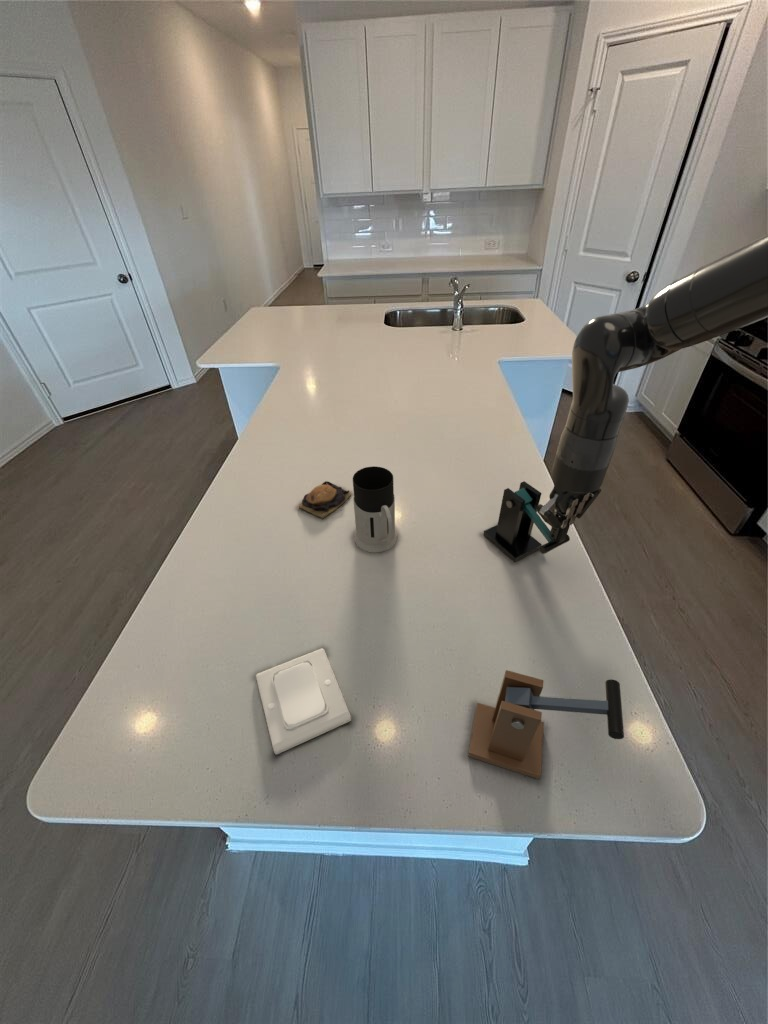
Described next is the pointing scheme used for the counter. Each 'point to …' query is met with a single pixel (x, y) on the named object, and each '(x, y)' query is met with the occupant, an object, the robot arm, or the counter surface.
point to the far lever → (539, 523)
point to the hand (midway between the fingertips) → (556, 538)
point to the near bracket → (510, 730)
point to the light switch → (301, 700)
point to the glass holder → (374, 509)
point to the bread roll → (324, 499)
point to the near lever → (576, 705)
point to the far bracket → (515, 525)
